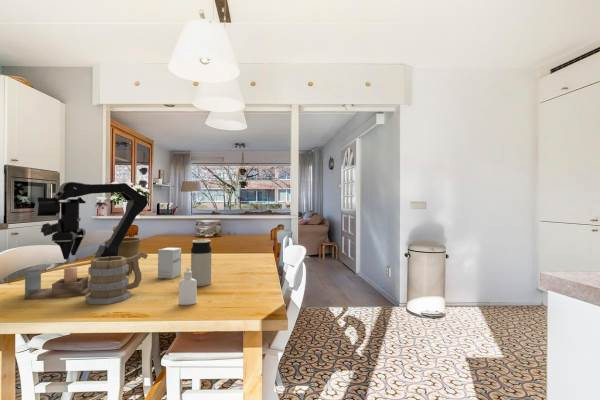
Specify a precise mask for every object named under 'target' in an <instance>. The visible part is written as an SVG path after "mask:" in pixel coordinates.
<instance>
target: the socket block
mask: <svg viewBox="0 0 600 400" xmlns="http://www.w3.org/2000/svg"><path fill="white" fill-rule="evenodd" d="M50 267H51V264H48V263H46V264H36V265H35V266H31V267H30V268H27V269H25V270H24V300H36V299H38V298H40V299H51V298H52V299H53V298H66V297H78V296H79V297H81V296H87V295H88V293H90V289H89V288H88V282H89V277H77V282H72V283H64V278H60V279H59V280H56V281H55V282H54V283H52V284H51V287H50V288H47V287H46V288H42V271H44V270H46V269H48V268H50Z"/></svg>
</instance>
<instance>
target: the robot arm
mask: <svg viewBox="0 0 600 400" xmlns="http://www.w3.org/2000/svg"><path fill="white" fill-rule="evenodd" d="M58 190H59V191H58V192H56V194H55V195H54V196H53V197H44V196H43V197H42V196H41V197H40V196H37V197H36V198H35V199H36V200H35V204H34V207H33V209H34V216H35V217H55V216H57V214H60V218H58V219H57V222H55V223H54V224H53V223H52V224H50V222H48V223H43V224H42V226H41V227H40V233H42V234H43V236H44V237H46V236H50V235H51V242H53V243H55V244H56V245H58V247H59V248H60V251H61V253H62V258H63V259H64V260H69V257H70V254H71V256H75V255H76V254H77V252H78V251H79V248H80V245H82V242H83V240H84V239H85V236H86V230H85V229H84V228H83V227H82V228H80V221H81V220H82V219H81V217H80V204H86V203H87V202H86V201H85V200H84V199H83V198H82V197H84V196H86V195H87V196H88V195H93V194H111V193H113V194H114V193H118V194H120V195H121V196H122V198H123V199H124V200H125V201H127V203H126V205H125V212H124V214H123V215H122V218H121V219H120V220H119V222H118V225H117V226H116V227H115V229H114V231H113V233H112V234H111V236H110V238H109V239H110V240H109V241H108V243H107V244H106V245H105V244H104V245H103V244H99V246H98V249H97V251H96V252H95V253H94V255H95V256H94V259H96V258H101V257H111V256H118V251H119V246H120V244H121V243H122V241H123V239H124V238H126V235H127V233H128V232H129V229H130V228H131V227H132V225H133V223H134V221H135V219H136V217H137V216H138V215H139V214H141V213H142V212H143V211H144V210H145V209H146V207H147V206H148V204H149V199H148V197H147V196H146V195H144V194H141V193H140V192H138V191H137V190H135V189H134V188H133V187H131V186H130V185H129V184H128V183H125V182H120V183H102V184H101V183H100V184H99V183H98V184H96V183H95V184H94V183H93V184H90V183H82V182H75V181H68V182H63V183H62V184H60V186H59V189H58Z"/></svg>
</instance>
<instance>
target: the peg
mask: <svg viewBox="0 0 600 400" xmlns="http://www.w3.org/2000/svg"><path fill="white" fill-rule="evenodd" d="M77 278H78V267H75V266H73V267H65V268H63V279H64V283H72V282H77Z"/></svg>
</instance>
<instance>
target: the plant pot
mask: <svg viewBox="0 0 600 400" xmlns="http://www.w3.org/2000/svg"><path fill="white" fill-rule="evenodd" d="M109 240H110V238H108V239H104V245H106V244H107V243H108V241H109ZM141 241H142V239H141V238H140V237H131V236H130V237H129V236H128V237H127V236H126V237H124V239H123V241H122V243H121V244H120V246H119V251H118V256H121V257H125V258H131V257H133V256H135V255H137V254H138V253H140V249H141V248H140V246H141ZM127 264H128V265H129V271H128V272H127V275H131V274H132V273H133V269H132V262H129V263H127Z"/></svg>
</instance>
